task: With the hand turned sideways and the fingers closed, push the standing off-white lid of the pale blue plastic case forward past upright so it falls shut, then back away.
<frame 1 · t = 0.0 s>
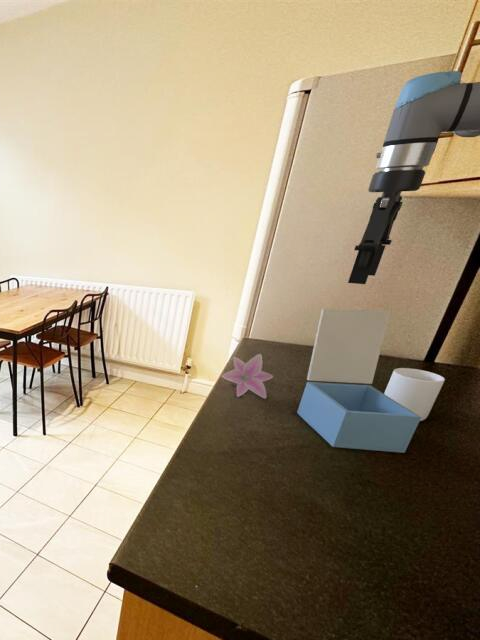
hand: (361, 279, 90), 32 cm above the kitchen counter, tool pointing down, fingers open, 13 cm apart
lily: (242, 392, 112), on the kitchen counter
case: (345, 431, 92), on the kitchen counter
cup: (399, 411, 100), on the kitchen counter
case lid: (347, 346, 94), point 17 cm above the kitchen counter, hinge at 100.0°
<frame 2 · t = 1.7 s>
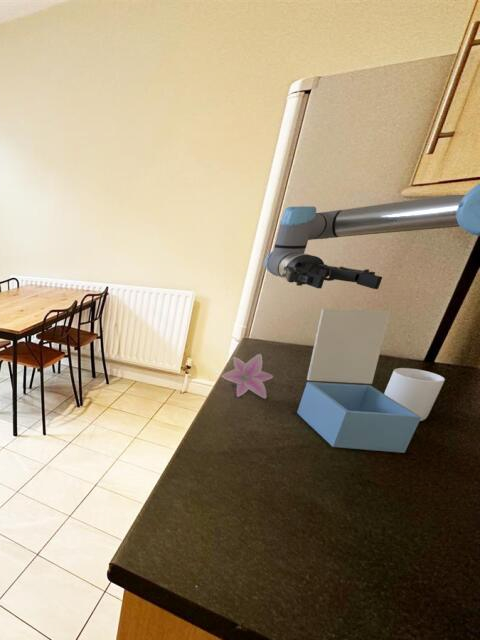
hand: (349, 282, 94), 30 cm above the kitchen counter, tool horizontal, fingers open, 10 cm apart
nothing on the kitchen counter moved.
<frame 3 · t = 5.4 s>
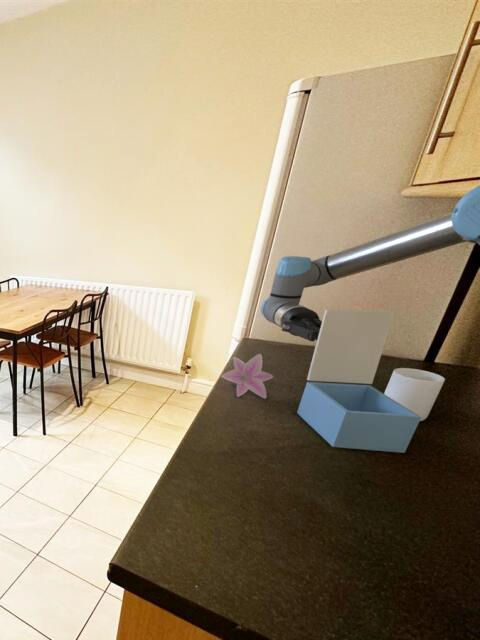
hand: (346, 346, 94), 17 cm above the kitchen counter, tool horizontal, fingers closed
case lid: (348, 347, 93), point 17 cm above the kitchen counter, hinge at 95.3°, touching gripper
everything else where it was.
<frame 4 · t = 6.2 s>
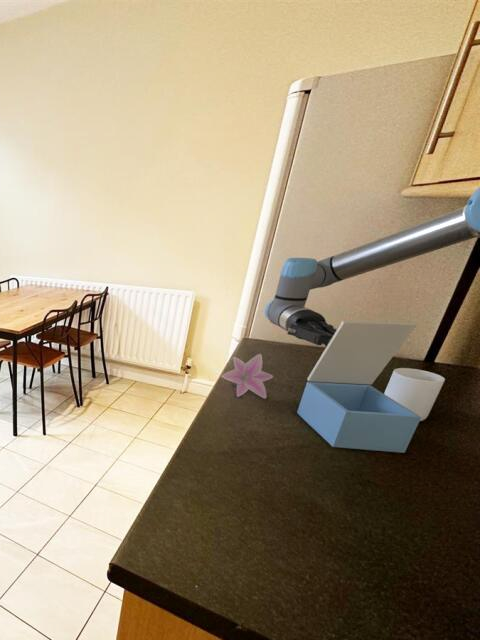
hand: (355, 350, 91), 17 cm above the kitchen counter, tool horizontal, fingers closed
case lid: (357, 354, 90), point 17 cm above the kitchen counter, hinge at 70.8°, touching gripper
everything else where it was.
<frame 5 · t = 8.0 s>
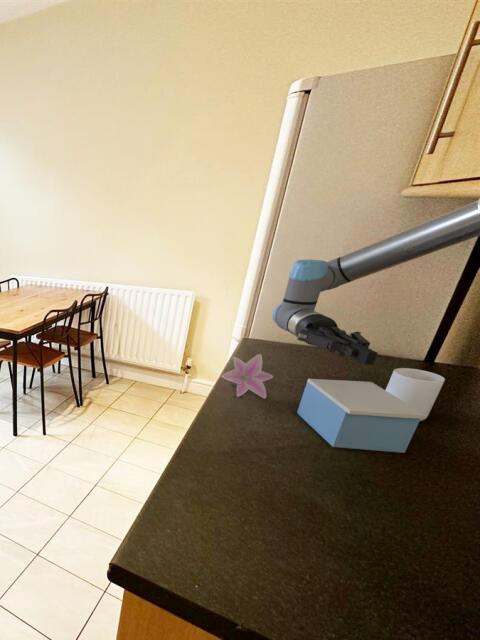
hand: (371, 358, 86), 17 cm above the kitchen counter, tool horizontal, fingers closed
case lid: (360, 396, 88), point 9 cm above the kitchen counter, hinge at -0.2°
everything else where it was.
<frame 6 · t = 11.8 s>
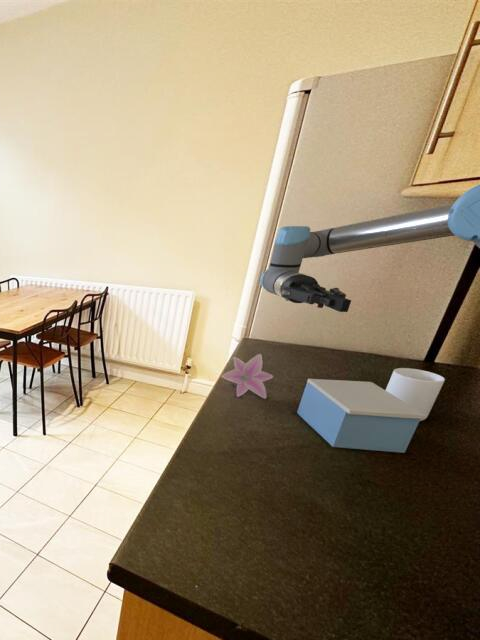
hand: (345, 306, 95), 25 cm above the kitchen counter, tool horizontal, fingers closed
nothing on the kitchen counter moved.
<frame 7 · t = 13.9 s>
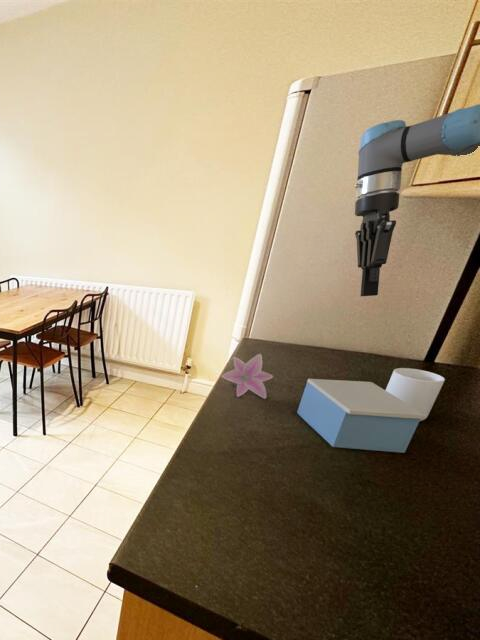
hand: (369, 295, 102), 25 cm above the kitchen counter, tool tilted 15°, fingers closed
nothing on the kitchen counter moved.
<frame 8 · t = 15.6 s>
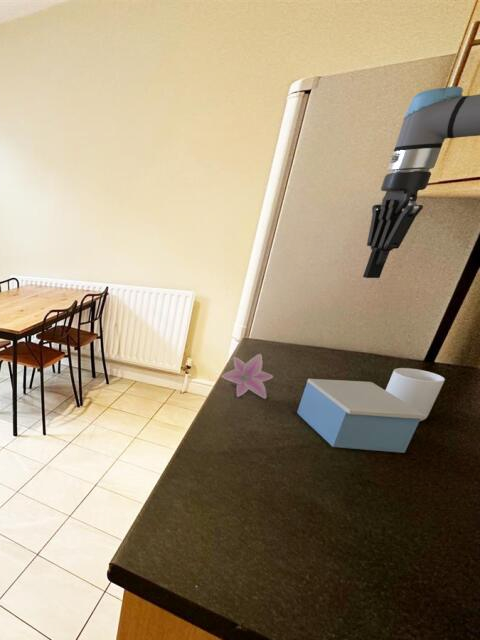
hand: (371, 277, 103), 29 cm above the kitchen counter, tool pointing down, fingers closed
nothing on the kitchen counter moved.
at the end: case lid at +0° (first picture: +100°); cup moved 0.2 cm from its start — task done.
